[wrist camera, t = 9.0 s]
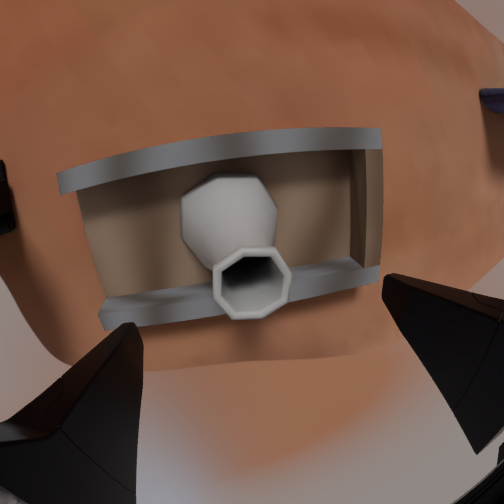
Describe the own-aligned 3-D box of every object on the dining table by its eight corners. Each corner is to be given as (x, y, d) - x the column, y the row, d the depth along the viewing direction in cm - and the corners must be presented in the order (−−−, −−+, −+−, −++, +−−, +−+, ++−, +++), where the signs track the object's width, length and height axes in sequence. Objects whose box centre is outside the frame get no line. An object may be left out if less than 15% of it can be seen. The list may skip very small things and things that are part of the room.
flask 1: (287, 250, 21) (345, 326, 12) (196, 278, 21) (197, 373, 12) (265, 157, 19) (325, 169, 9) (164, 187, 18) (127, 228, 9)
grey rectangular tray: (115, 306, 22) (104, 330, 18) (77, 168, 17) (56, 173, 14) (358, 264, 24) (378, 281, 21) (356, 129, 20) (380, 128, 17)
